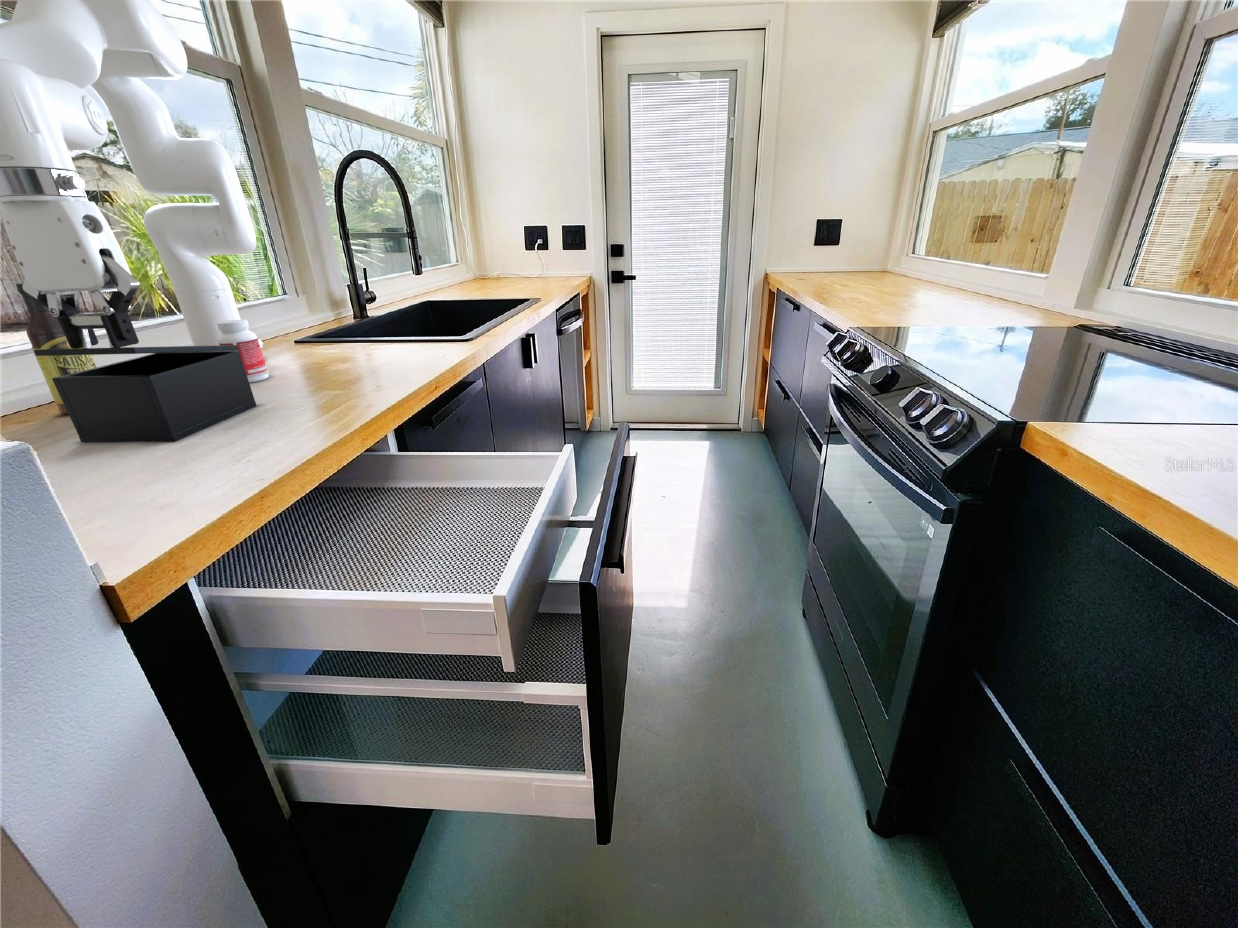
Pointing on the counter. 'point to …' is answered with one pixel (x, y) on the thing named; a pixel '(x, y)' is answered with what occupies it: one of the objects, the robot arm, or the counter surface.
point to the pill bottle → (244, 347)
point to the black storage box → (156, 396)
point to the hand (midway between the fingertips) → (105, 344)
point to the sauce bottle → (51, 345)
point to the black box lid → (94, 322)
